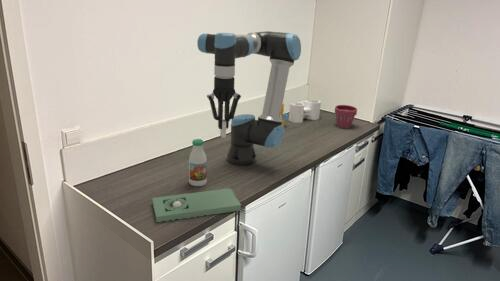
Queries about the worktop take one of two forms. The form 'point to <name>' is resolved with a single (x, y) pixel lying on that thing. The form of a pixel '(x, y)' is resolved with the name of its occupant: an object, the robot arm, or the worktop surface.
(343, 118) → the plant pot
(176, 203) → the ball
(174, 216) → the plate
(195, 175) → the milk bottle
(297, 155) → the worktop surface
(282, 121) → the orange blue toy
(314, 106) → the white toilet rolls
